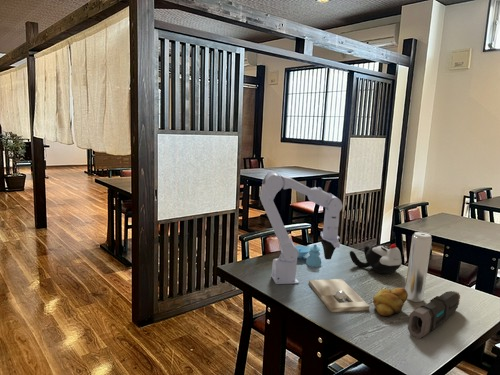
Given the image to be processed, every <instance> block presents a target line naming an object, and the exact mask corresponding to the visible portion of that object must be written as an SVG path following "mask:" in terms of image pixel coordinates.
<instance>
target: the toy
mask: <svg viewBox="0 0 500 375" xmlns="http://www.w3.org/2000/svg"><path fill="white" fill-rule="evenodd" d="M363 251H364V252H363V253H364V257H365V261H366V262H363V261H361V260H360V259H359V258H358V257H357V254H356V252H354V251H353V250H350V251H349V258H350V259H351V262H352V263H353V264H354V265H355V266H356V267H358V268H362V269H364V268H365V269H366V268H369V267H370V268H372V269H373V270H374V271H375V272H376V273H378V274H379V275H383V274H392V273H394V272H396V271H397V270H399V268H401V265H402V255H401V251H400V249H399V247H397V245H396V244H395V243H392V244H391V245H390V247H388V246H386V245H378V246H376V245H374V246H372V247H369V246H368V245H366V246H365V247H364V248H363Z"/></svg>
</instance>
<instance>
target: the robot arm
mask: <svg viewBox="0 0 500 375" xmlns="http://www.w3.org/2000/svg"><path fill="white" fill-rule="evenodd" d="M261 183H262V184H261V191H260V195H259V199H260V203H261V205H262V206H263V209H264V211H265V213H266V215H267V218H268V220H269V222H270V225H271V228H272V229H273V232H274V234H275V236H276V239H277V240H278V242H279V246H278V247H279V251H280V255H279V256H278V258H274V259H272V264H271V265H272V266H271V276H270V277H271V278H272V280H273V282H274V283H275V285H285V284H286V285H288V284H290V285H292V284H300V283H299V280H298V279H297V277H296V276H297V268H298V267H297V265H298V259H299V258H298V255H299V252H298V250H297V249H296V247H295V245H296V244H295V243H294V241H293V240H292V239H291V238H290V236H289V234H288V232H287V228H286V227H285V225H284V222H283V220H282V217H281V214H280V213H279V210H278V208H277V206H276V204H275V202H274V201H275V200H274V199H275V197H276V195H277V194H278V192H280V191H281V190H282V189H283V190H288V189H291V190H294V191H296V192H297V193H301V194H303V195H305V196H307V199H308V201H310V202H312V203H314V204H316V205H318V206H320V207H322V208H324V209H325V210H324V218H323V228H322V231H320V238H321V239H322V240H321V241H320V243H321V246H322V248H323V249H322V250H323V255H324V260H331V259H332V256H333V254H334V252H335V250H336V249H337V248H339V249H340V247H341V246H340V245H341V244H340V241H339V240H340V239H341V237H340V236H339V235H338V234H339V225H340V224H339V223H340V214H341V213H340V212H341V211H342V210H343V207H344V206H343V202H342V200H341V199H340V198H338V197H337V196H335V195H334V194H332V193H331V192H326V191H324V190H323V188H322V187H320V186H318V187H316V186H314V187H309V186H307V185H305V184H304V183H301V182H299V181H298V180H295V179H294V178H291V177H289V176H287V175H283V174H281V173H280V174H279V173H278V172H275V171H270V172H267V174H265V176H264V177H263V179H262V182H261Z"/></svg>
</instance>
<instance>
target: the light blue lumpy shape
mask: <svg viewBox="0 0 500 375" xmlns="http://www.w3.org/2000/svg"><path fill="white" fill-rule="evenodd" d="M294 245H295V247H296V249H297V250H298V252H299V255H298V258H297V259H302V258H303V257H305V256H306V255H307V254H309V255H308V256H307V257H306V259H305V260H306V261H305V264H306V265H307V266H309V267H315V268H317V267H318V268H319V267H321V265H322V259H321V258H320V256H321V253H320V251H321V249H320V247H319V246H318V244H313V245H312V246H310V247H309V246H306V245H300V244H294Z"/></svg>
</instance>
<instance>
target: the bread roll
mask: <svg viewBox="0 0 500 375" xmlns="http://www.w3.org/2000/svg"><path fill="white" fill-rule="evenodd" d="M407 297H408V293H407V291H406V290H405V287H396V288H392V289H389V288H381V289H380V290H379V291H377V293H376V294H375V295H374V297H373V300H372V303H373V305H374V308H375V309H376V312H377V313H378V314H379V315H381V316H384V317H391V315H392V314H398V313H400V312H401V311H402V309H403V307H404V304H405V303H406V301H407V300H408V299H407Z"/></svg>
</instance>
